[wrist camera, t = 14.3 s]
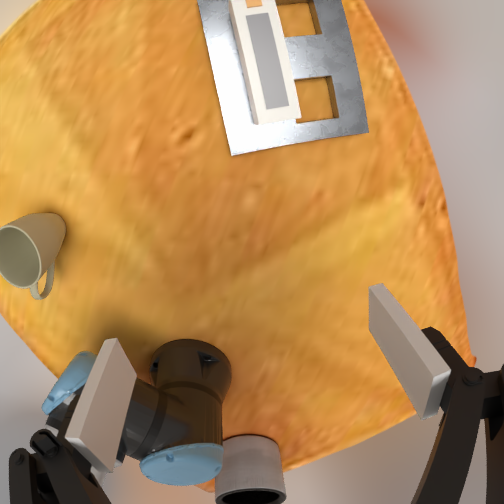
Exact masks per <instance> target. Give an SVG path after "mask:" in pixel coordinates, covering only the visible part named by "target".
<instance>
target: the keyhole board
mask: <svg viewBox="0 0 504 504" xmlns="http://www.w3.org/2000/svg"><path fill="white" fill-rule="evenodd" d="M197 1H198V6H199V10H200V15H201V19H202V24H203V28H204V33H205V37H206V42H207V46H208V51H209V55H210V60H211V64H212V69H213V73H214V78H215V82H216V87H217V92H218V96H219V101H220V105H221V110H222V114H223V119H224V123H225V128H226V132H227V137H228V141H229V146H230V150H231V155H232V156H233V155H238V154H242V153H247V152H252V151H257V150H262V149H267V148H272V147H278V146H283V145H289V144H294V143H300V142H306V141H312V140H319V139H325V138H332V137H339V136H346V135H354V134H362V133H369V130H368V123H367V116H366V110H365V104H364V98H363V93H362V87H361V82H360V77H359V72H358V67H357V62H356V58H355V53H354V49H353V44H352V40H351V36H350V32H349V28H348V24H347V20H346V17H345V13H344V9H343V6H342V2H341V0H275V3H276V5H281V4H293V3H308V4H309V8H310V11H311V15H312V19H313V23H314V27H315V31H316V35H307V36H296V37H286V38H285V43H286V47H287V51H288V55H289V60H290V64H291V69H292V73H293V78H294V81H298V80H306V79H315V78H325V77H326V80H327V85H328V90H329V95H330V100H331V105H332V111H333V117H334V118H330V119H322V120H315V121H308V122H302V123H296V120H295V119H290V120H284V121H278V122H273V123H267V124H262V125H254V120H253V116H252V111H251V106H250V101H249V97H248V92H247V88H246V83H245V79H244V74H243V70H242V65H241V61H240V56H239V52H238V47H237V43H236V39H235V34H234V30H233V26H232V22H231V17H230V13H229V0H197Z"/></svg>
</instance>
